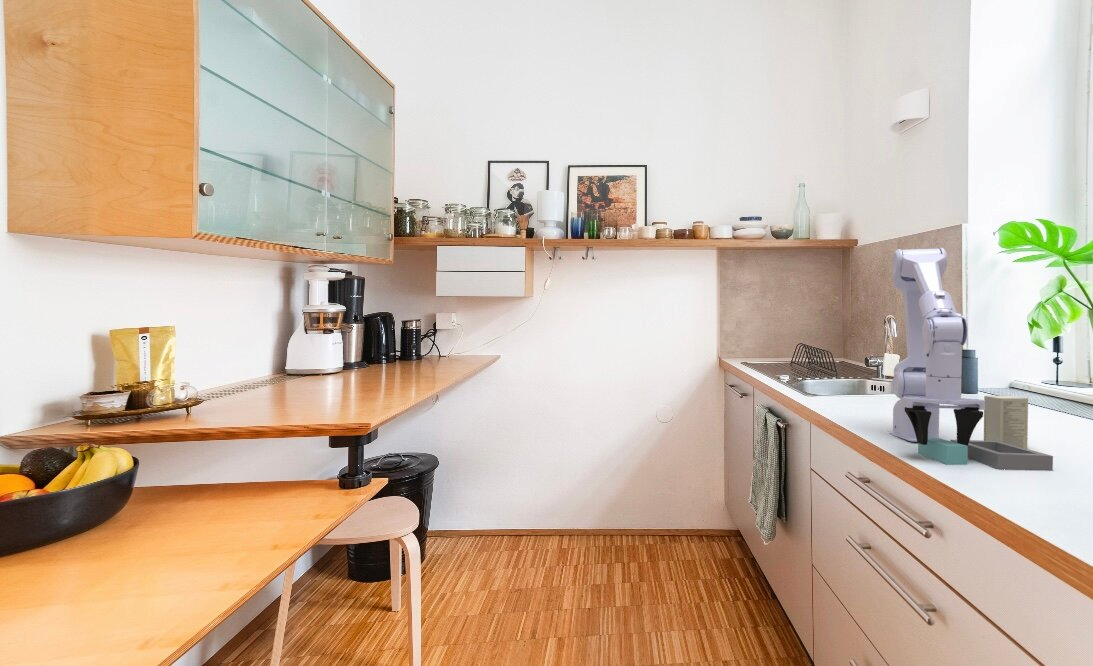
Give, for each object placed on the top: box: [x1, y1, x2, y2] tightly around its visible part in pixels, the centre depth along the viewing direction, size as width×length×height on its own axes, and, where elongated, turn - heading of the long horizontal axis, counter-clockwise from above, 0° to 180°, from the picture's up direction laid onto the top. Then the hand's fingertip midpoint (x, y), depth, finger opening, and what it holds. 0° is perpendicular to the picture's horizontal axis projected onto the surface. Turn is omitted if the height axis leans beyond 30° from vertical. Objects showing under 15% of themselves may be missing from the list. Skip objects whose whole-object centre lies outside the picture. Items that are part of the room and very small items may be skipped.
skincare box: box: [983, 394, 1029, 449], centre depth 116 cm, size 6×4×12 cm
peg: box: [917, 437, 969, 466], centre depth 108 cm, size 8×4×4 cm, turn 0°
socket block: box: [949, 439, 1054, 472], centre depth 107 cm, size 14×10×3 cm
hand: (942, 444), depth 108 cm, fingers open, 7 cm apart
